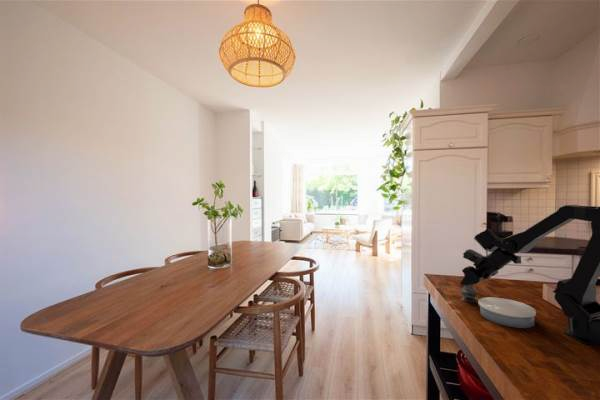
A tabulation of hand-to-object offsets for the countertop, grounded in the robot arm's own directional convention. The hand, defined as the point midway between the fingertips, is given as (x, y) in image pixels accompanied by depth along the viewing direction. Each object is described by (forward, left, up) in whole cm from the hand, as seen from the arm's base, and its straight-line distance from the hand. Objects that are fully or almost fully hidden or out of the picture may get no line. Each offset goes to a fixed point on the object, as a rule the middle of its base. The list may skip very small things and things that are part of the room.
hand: (464, 282), depth 98 cm
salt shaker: (-1, -1, -7) cm, 7 cm away
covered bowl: (-16, -5, -7) cm, 18 cm away
